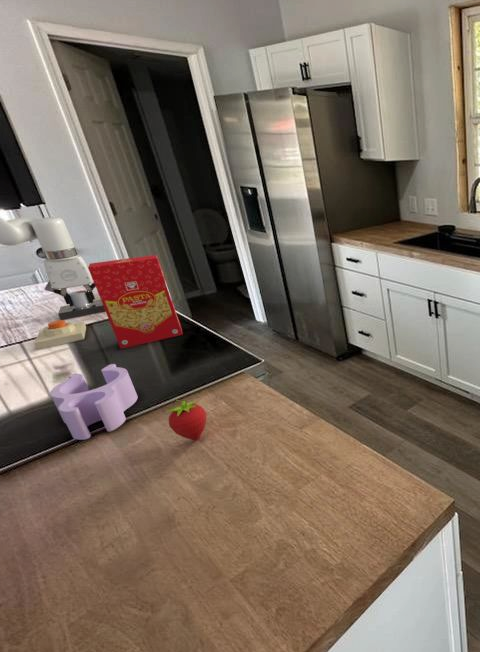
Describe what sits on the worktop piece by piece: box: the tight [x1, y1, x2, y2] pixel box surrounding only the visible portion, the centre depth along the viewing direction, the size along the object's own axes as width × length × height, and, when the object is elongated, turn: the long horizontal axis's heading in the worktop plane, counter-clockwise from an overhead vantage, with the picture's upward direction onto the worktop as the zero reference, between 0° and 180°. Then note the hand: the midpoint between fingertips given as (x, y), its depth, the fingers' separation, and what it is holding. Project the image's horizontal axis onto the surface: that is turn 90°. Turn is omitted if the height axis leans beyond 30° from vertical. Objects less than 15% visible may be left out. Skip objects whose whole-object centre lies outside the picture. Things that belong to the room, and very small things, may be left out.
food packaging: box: [88, 254, 183, 349], centre depth 123 cm, size 15×5×25 cm, turn 129°
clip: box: [49, 363, 138, 441], centre depth 91 cm, size 20×12×7 cm, turn 41°
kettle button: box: [47, 319, 66, 329], centre depth 127 cm, size 4×4×2 cm
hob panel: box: [57, 299, 106, 321], centre depth 148 cm, size 12×9×3 cm
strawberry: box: [164, 399, 207, 442], centre depth 81 cm, size 6×8×10 cm
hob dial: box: [68, 289, 91, 308], centre depth 147 cm, size 4×4×5 cm
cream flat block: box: [34, 321, 87, 350], centre depth 128 cm, size 12×10×4 cm
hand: (82, 303), depth 147 cm, fingers closed on hob dial, 4 cm apart
